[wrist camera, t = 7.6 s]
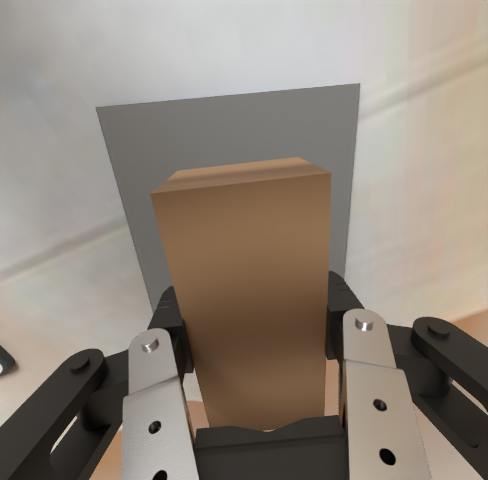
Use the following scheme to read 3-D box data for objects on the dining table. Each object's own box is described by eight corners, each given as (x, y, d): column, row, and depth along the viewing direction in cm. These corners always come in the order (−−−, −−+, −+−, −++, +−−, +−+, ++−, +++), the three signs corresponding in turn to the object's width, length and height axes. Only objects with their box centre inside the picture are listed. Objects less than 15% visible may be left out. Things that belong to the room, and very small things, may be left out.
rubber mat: (156, 314, 25) (154, 318, 25) (99, 108, 18) (95, 107, 18) (339, 296, 25) (342, 300, 25) (356, 84, 18) (360, 83, 18)
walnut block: (177, 170, 11) (149, 193, 7) (297, 156, 11) (331, 172, 7) (217, 361, 15) (212, 435, 12) (302, 352, 15) (324, 423, 12)
